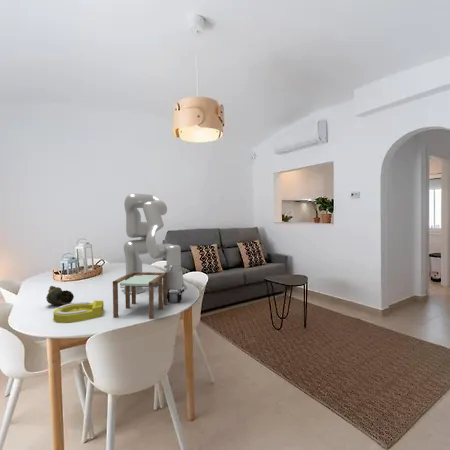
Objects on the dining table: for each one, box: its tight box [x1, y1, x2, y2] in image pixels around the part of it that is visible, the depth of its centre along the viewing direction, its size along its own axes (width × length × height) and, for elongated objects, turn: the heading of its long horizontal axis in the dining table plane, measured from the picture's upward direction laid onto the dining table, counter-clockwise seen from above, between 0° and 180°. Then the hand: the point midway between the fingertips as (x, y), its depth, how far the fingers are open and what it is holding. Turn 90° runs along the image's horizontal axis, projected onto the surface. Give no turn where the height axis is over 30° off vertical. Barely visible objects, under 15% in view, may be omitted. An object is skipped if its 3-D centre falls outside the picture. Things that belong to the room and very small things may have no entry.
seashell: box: [46, 285, 75, 306], centre depth 147 cm, size 11×11×10 cm
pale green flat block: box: [119, 275, 159, 288], centre depth 139 cm, size 15×16×5 cm
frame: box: [112, 271, 168, 320], centre depth 140 cm, size 19×21×17 cm
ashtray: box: [53, 300, 104, 324], centre depth 133 cm, size 16×21×5 cm
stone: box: [169, 290, 179, 304], centre depth 153 cm, size 5×5×5 cm
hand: (174, 300), depth 153 cm, fingers closed on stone, 5 cm apart
